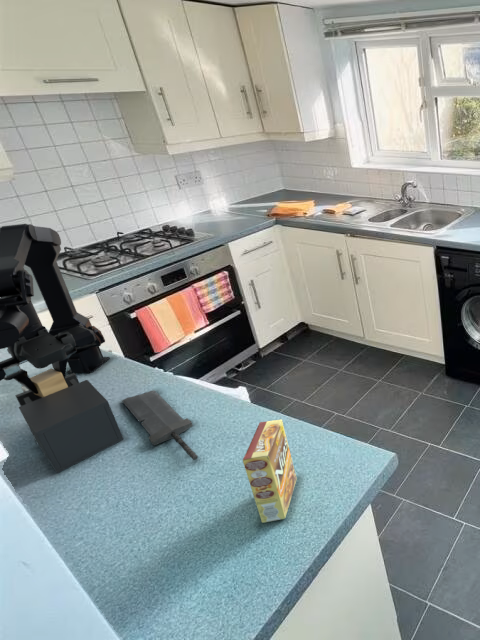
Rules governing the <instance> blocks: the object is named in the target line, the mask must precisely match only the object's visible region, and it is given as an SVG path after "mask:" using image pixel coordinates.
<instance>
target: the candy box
mask: <svg viewBox="0 0 480 640" xmlns="http://www.w3.org/2000/svg"><path fill="white" fill-rule="evenodd" d="M242 463H243V467H244V469H245V472H246V476H247V480H248V482H249V486H250V488H251V492H252V495H253V498H254V501H255V505H256V508H257V512H258V514H259V518H260V521H261V523H262V524H265V523H269V522H275V521H279V520H280V521H281V520H285V519H286V517H287V514H288V510H289V507H290V504H291V501H292V497H293V495H294V490H295V486H296V483H297V480H298V477H297V474H296V470H295V466H294V461H293V458H292V454H291V451H290V446H289V442H288V439H287V435H286V431H285V426H284V422H283V419H275V420H273V419H272V420H269V421H268V420H265V421H260V422H259V423H258V424H257V428H256V430H255V431H254V434H253V436H252V439H251V441H250V443H249V446H248V447H247V449H246V452H245V454H244V456H243V458H242Z"/></svg>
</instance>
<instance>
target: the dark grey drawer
mask: <svg viewBox="0 0 480 640" xmlns="http://www.w3.org/2000/svg"><path fill="white" fill-rule="evenodd" d="M65 381H66V384H67V386H68V387H70V386H72V385H75V384H77V383H80V381H79V379H78V377H77V373H72V374H66V375H65ZM20 387H21V390H22V392H21V393H17V394H16V395H15V398H16V400H17V402H18V404H19V407H20V406H23V405H25V404H28V403H30V402H33V401H35V400H37V399H40V398H42V397H40V396H37V395H35V394H34V393H33V392H31V391H30V390H29V389H27V388H26V387H24V386H23V385H22V386H20Z"/></svg>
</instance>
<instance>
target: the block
mask: <svg viewBox="0 0 480 640" xmlns="http://www.w3.org/2000/svg"><path fill="white" fill-rule="evenodd" d="M29 378H30V379H31V381H32V382H33V384H34V385H35V386H36V388H37V390H38V394H35V393H34V394H35V395H37V396H40V397H45V396H47V395H50V394H52V393H55V392H57V391H60V390H62V389H65V388H67V387H68V386H67V384H66V381H65V379H64V377H63V375H62V373H61V372H58V371H56V370H54V368H50V369H47V370H45V371H42V372H40V373H38V374H35V375H33V376H31V377H29Z"/></svg>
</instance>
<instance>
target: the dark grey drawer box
mask: <svg viewBox="0 0 480 640" xmlns="http://www.w3.org/2000/svg"><path fill="white" fill-rule="evenodd" d="M18 409H19V411H20V413H21V415H22V417H23V419H24V420H25V423H26V424H27V426H28V428H29V430H30V432H31V434H32V436H33V438H34V440H35V441H36V444H37V445H38V447H39V448H40V450H41V452H42V454H43V455H44V456H45V458H46V459H47V461H48V463H49V464H50V466H51V467H52V468H53V471H55V473H56V474H59V473H61V472H63V471H65V470H67V469H69V468H71V467H73V466H75V465H76V464H78V463H80V462H82V461H84V460H87V459H88V458H90V457H92V456H94V455H96V454H98V453H100V452H102V451H104V450H106V449H108V448H110V447H112V446H114V445H116V444H117V443H120V442H121V441H124V440H125V438H124V436H123V434H122V431H121V429H120V427H119V425H118V421H117V420H116V417H115V415H114V412H113V410H112V408H111V406H110V402H109V401H108V400H107V399H106V398H105V397H104V395H102V393H101V392H100V391H99V390H98V389H97V388H96V387H95V386H94V385H93V384H92V383H91V382H90V381H89V380H88V379H85V380H83V381H79V383H77V384H75V385H72V386H70V387H67V388H65V389H62V390H60V391H57V392H55V393H52V394H50V395H47V396H45V397H42V398H40V399H37V400H35V401H33V402H30V403H28V404H25V405H23V406H20V405H19V406H18Z"/></svg>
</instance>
